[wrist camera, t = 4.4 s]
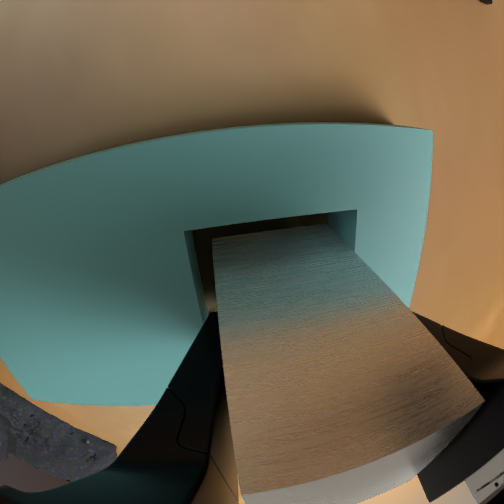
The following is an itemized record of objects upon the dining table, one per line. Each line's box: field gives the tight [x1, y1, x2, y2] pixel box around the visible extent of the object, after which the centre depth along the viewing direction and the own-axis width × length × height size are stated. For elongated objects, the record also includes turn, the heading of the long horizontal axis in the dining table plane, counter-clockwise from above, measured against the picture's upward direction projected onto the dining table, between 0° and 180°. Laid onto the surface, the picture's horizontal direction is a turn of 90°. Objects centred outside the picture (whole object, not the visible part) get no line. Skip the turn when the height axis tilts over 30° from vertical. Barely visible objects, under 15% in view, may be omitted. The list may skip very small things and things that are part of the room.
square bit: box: [212, 224, 485, 504], centre depth 7 cm, size 4×4×8 cm
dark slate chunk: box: [0, 383, 117, 482], centre depth 14 cm, size 15×22×5 cm
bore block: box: [0, 122, 433, 406], centre depth 11 cm, size 20×11×2 cm, turn 95°
